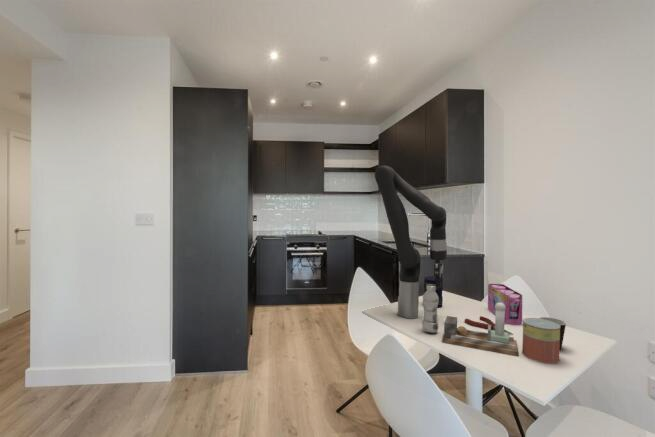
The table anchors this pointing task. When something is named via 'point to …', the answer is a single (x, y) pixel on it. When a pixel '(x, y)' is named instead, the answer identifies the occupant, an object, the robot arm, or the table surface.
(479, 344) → the base
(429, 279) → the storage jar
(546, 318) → the coffee mug
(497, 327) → the grey post on base
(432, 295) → the plastic bottle
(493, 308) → the gum box
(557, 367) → the table surface
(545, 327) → the canned food
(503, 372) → the table surface
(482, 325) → the pliers
